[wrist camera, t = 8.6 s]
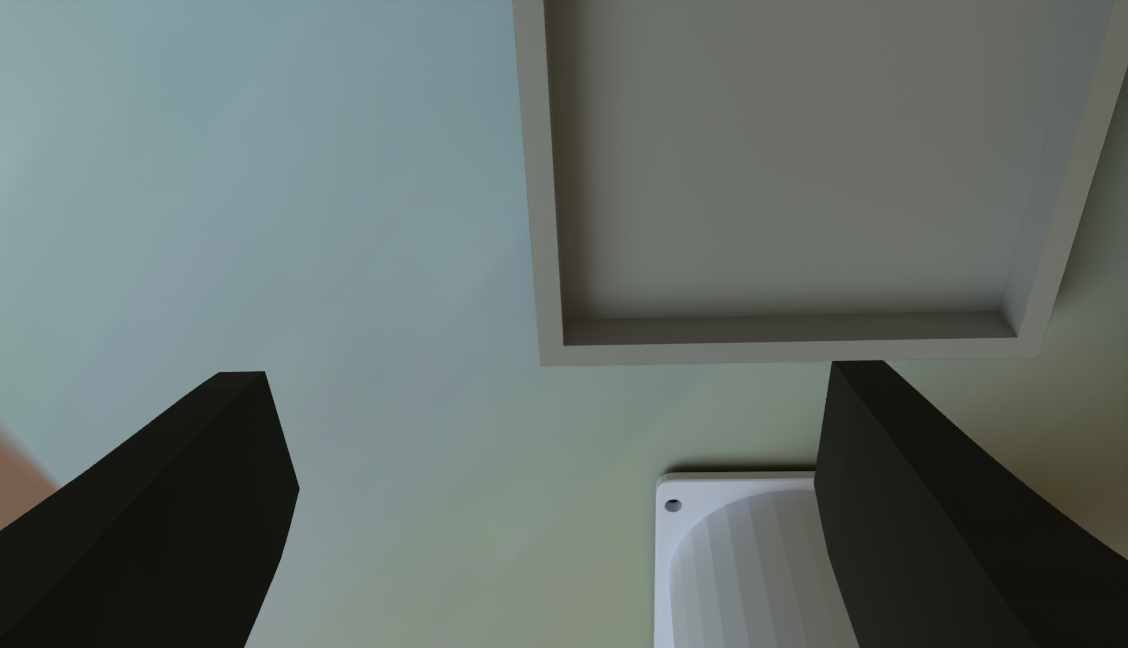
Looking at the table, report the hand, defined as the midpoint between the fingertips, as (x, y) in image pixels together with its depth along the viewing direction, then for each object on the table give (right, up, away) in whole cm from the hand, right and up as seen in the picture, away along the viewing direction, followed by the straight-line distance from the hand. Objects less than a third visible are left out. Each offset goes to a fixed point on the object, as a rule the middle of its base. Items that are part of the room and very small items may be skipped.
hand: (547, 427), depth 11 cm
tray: (+5, +6, +8) cm, 12 cm away
